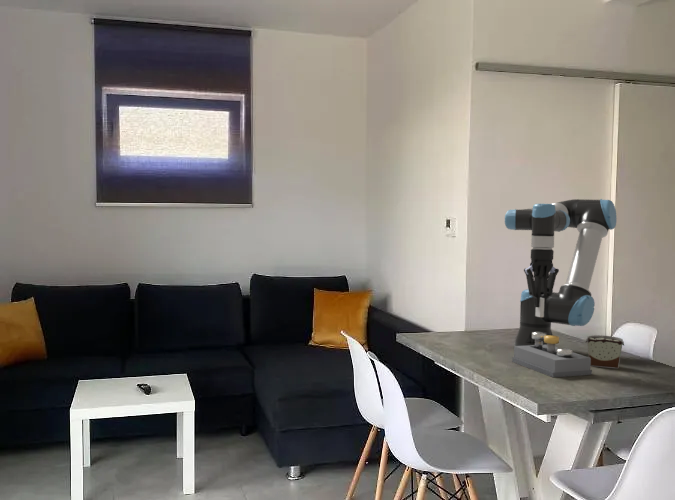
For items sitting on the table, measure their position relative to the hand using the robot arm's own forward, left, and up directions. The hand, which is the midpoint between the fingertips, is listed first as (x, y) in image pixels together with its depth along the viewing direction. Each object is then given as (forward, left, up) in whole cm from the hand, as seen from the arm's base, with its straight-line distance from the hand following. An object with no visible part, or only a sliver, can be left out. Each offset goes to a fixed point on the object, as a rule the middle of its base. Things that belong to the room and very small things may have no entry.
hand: (539, 316), depth 237 cm
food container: (-21, +8, -17) cm, 28 cm away
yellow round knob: (0, +7, -11) cm, 13 cm away
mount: (0, +7, -17) cm, 18 cm away
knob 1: (0, 0, -11) cm, 11 cm away
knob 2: (0, +14, -14) cm, 20 cm away
